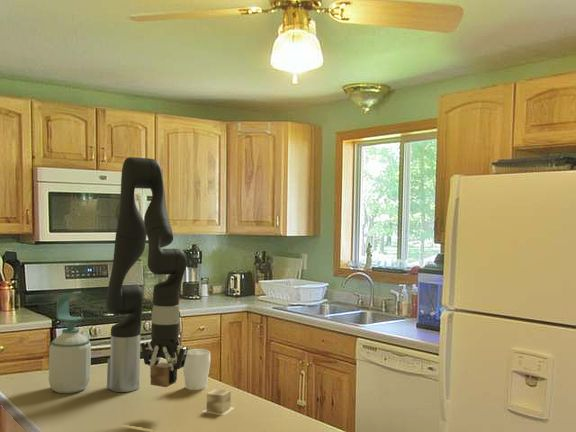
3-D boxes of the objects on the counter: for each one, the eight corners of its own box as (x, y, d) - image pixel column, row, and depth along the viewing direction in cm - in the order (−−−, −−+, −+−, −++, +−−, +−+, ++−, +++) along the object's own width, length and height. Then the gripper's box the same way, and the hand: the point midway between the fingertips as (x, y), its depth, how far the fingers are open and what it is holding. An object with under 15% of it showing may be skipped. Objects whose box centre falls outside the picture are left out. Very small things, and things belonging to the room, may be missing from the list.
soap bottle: (71, 397, 175) (74, 294, 176) (39, 392, 180) (41, 292, 180) (98, 386, 187) (100, 290, 187) (67, 382, 191) (69, 288, 191)
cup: (204, 394, 181) (205, 355, 181) (177, 391, 183) (178, 354, 183) (213, 386, 190) (214, 349, 190) (187, 384, 192) (188, 347, 192)
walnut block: (150, 384, 159) (151, 366, 158) (160, 379, 163) (161, 362, 163) (166, 387, 157) (166, 369, 157) (175, 382, 162) (176, 364, 161)
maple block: (206, 411, 163) (206, 393, 163) (214, 405, 168) (215, 388, 168) (222, 413, 162) (222, 395, 162) (230, 408, 166) (230, 390, 166)
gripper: (135, 320, 159) (133, 381, 159) (180, 325, 154) (178, 389, 154) (151, 315, 166) (149, 374, 166) (194, 321, 161) (192, 381, 161)
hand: (163, 381), depth 160 cm, fingers closed on walnut block, 5 cm apart
